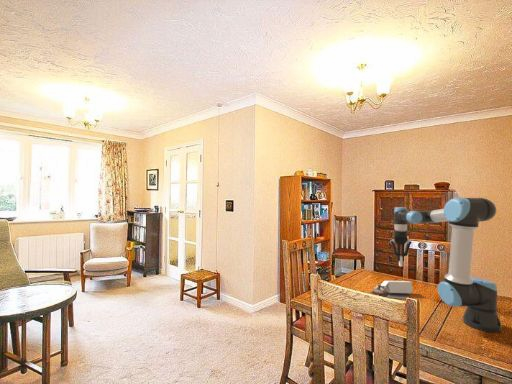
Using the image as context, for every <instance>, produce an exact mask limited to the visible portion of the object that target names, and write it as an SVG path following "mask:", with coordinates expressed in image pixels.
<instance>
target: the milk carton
mask: <svg viewBox="0 0 512 384" xmlns="http://www.w3.org/2000/svg"><path fill="white" fill-rule="evenodd" d="M380 285H382V286H385V287H386V290H387V292H388V293H408V294H414V291H413V282H412V281H408V280H383V282H382V283H381V284H380Z"/></svg>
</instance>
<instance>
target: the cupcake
mask: <svg viewBox="0 0 512 384" xmlns="http://www.w3.org/2000/svg"><path fill="white" fill-rule="evenodd" d="M371 294H375V295H379V296H383V297H388V293H387V290H386V287H385V286H382V285H381V284H376V286H375V287H374V288H372V291H371V292H370V295H371Z"/></svg>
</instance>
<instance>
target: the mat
mask: <svg viewBox="0 0 512 384" xmlns="http://www.w3.org/2000/svg"><path fill="white" fill-rule="evenodd" d="M387 293H388V292H387ZM388 297H389V298H388V299H395V300H396V299H397V300H398V299H399V300H407V299H406V298H407V297H411V295H410V294H409V293H388Z"/></svg>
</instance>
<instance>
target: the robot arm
mask: <svg viewBox="0 0 512 384" xmlns="http://www.w3.org/2000/svg"><path fill="white" fill-rule="evenodd" d="M393 209H394V212H393V214H394V215H393V219H394V220H393V222H394V225H393V227H394V231H393V233H394V234H393V235H394V237H393V239H391V240H389V242H390V244H391V245H392V252H393V254H394V255H395V256H396V258H397V259H396V260H397V262H398V266H399V267H403V266H404V263H403V262H404V261H405V257H406V256H408V254H409V250H410V247H411V244H412V241H411V240H409V238H408V223H409V224H414V225H415V224H426V223H427V224H438V223H441V222H448V224H449V226H450V227H451V234H450V235H451V236H450V246H449V249H450V250H449V259H448V260H449V261H448V272H447V273H446V274H445V275H444V278H443V281H440V282H439V283H438V285H437V292H438V296H439V297H440V298H441V300H442V302H443V303H444V304H446V305H447V306H450V307H458V308H459V307H466V308H465V311H464V313H463V315H462V321H463V323H464V324H465V325H467V326H469V327H471V328H473V329H476V330H479V331H483V332H488V333H489V332H490V333H499V332H501V331H502V323H501V320H500V318H499V315H498V312H497V311H498V310H497V309H498V286H497V284H496V283H495V282H493V281H491V280H488V279H484V278H481V277H474V276H471V264H472V255H473V254H472V253H473V245H474V243H473V242H474V234H475V233H474V232H475V230H476V229H478V228H479V222H480V223H481V222H486V221H490V220H491V219H493V218H494V217H495V216H496V213H497V206H496V205H495V203H494V202H493V201H491V200H490V199H488V198H484V197H456V198H451V199H449V200H448V201H447V202H446V203H445V205H444V207H443V208H441V209H439V208H438V209H433V210H408V208H407V207H404V206H403V207H402V206H401V207H400V206H395V207H394V208H393ZM395 244H396V245H395ZM405 244H406V246H405Z"/></svg>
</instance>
